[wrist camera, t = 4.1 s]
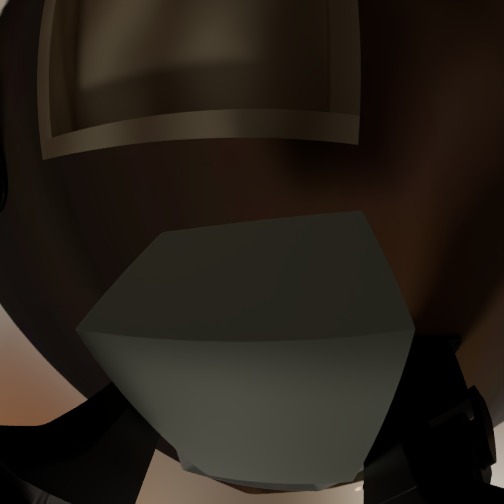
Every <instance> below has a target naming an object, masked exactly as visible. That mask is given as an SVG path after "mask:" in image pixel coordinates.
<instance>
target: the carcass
mask: <svg viewBox="0 0 504 504" xmlns="http://www.w3.org/2000/svg"><path fill="white" fill-rule="evenodd" d="M360 95H361V52H360V27H359V12H358V1H357V0H45V4H44V9H43V15H42V22H41V30H40V39H39V51H38V70H37V98H38V119H39V131H40V141H41V149H42V156H43V160H45V159H49V158H53V157H58V156H62V155H67V154H72V153H77V152H83V151H88V150H94V149H100V148H106V147H113V146H120V145H128V144H136V143H145V142H155V141H167V140H180V139H198V138H237V137H246V138H285V139H303V140H317V141H328V142H339V143H348V144H356V145H358V138H359V122H360Z"/></svg>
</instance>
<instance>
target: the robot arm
mask: <svg viewBox="0 0 504 504" xmlns="http://www.w3.org/2000/svg"><path fill="white" fill-rule="evenodd" d="M461 343H462V338H461V336H459V335H456V336H433V337H413V340H412V343H411V347H410V350H409V353H408V357H407V360H406V363H405V366H404V369H403V372H402V375H401V378H400V381H399V384H398V386H397V389H396V392H395V395H394V397H393V400H392V402H391V405H390V407H389V410H388V412H387V414H386V417H385V419H384V421H383V424H382V426H381V428H380V430H379V433H378V435H377V437H376V439H375V441H374V443H373V445H372V447H371V449H370V451H369V453H368V455H367V457H366V459H365V461H364V462H363V465H364V484H363V489H364V504H504V488H500V487H497V486H493V485H491V484H490V482H491V476H492V471H491V465H493V464H494V463H496V448H495V438H494V430H493V423H492V420H491V416H490V413H489V410H488V408H487V405H486V402H485V400H484V398H483V397H482V396H481V394H480V393H479V391H478V390H477V388H476V387H475V385H473V386H472V387H470V388H469V389H468V388H467V385H466V383H465V380H464V377H463V374H462V371H461V369H460V366H459V363H458V361H457V358H456V356H455V353H456V351H457V349H458V348H459V346H460V345H461ZM473 416H474V419H473V420H471V421H470V420H469V419H470V418H472V417H473ZM160 436H161V434H159V433H158V432H157V431H156V430H155V429H154V428H153V427H152V426H151V424H150V423H149V422H148V421H147V420H146V419H145V418H144V417H143V416H142V415H141V414H140V413H139V412H138V411H137V410H136V409H135V407H134V406H133V405H132V404H131V403H130V402H129V401H128V400H127V398H126V397H125V396H124V395H123V394H122V393H121V391H120V390H119V389H118V388H117V386H116V385H115V384H114V383H113V382H111V383H110V384H109V385H107V386H106V387H105V388H103V389H102V391H99V392H98V393H96V394H95V395H94V396H92V397H91V398H89V399H88V400H87V401H85V402H84V403H82V404H81V405H79V406H77V407H76V408H74V409H72V410H71V411H69V412H67V413H65V414H64V415H62V416H60V417H58V418H57V419H55V420H53V421H51V422H49V423H47V424H44V425H39V426H3V425H0V504H135V503H136V500H137V497H138V494H139V491H140V489H141V486H142V484H143V481H144V478H145V475H146V473H147V470H148V467H149V464H150V462H151V459H152V457H153V454H154V451H155V449H156V446H157V444H158V441H159V438H160Z"/></svg>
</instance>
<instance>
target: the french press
mask: <svg viewBox="0 0 504 504" xmlns="http://www.w3.org/2000/svg"><path fill="white" fill-rule="evenodd" d="M6 199H7V172H6V166H5V160H4V156H3V152H2V149H1V146H0V212H1V211H2V210H3V208H4V206H5V203H6Z"/></svg>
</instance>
